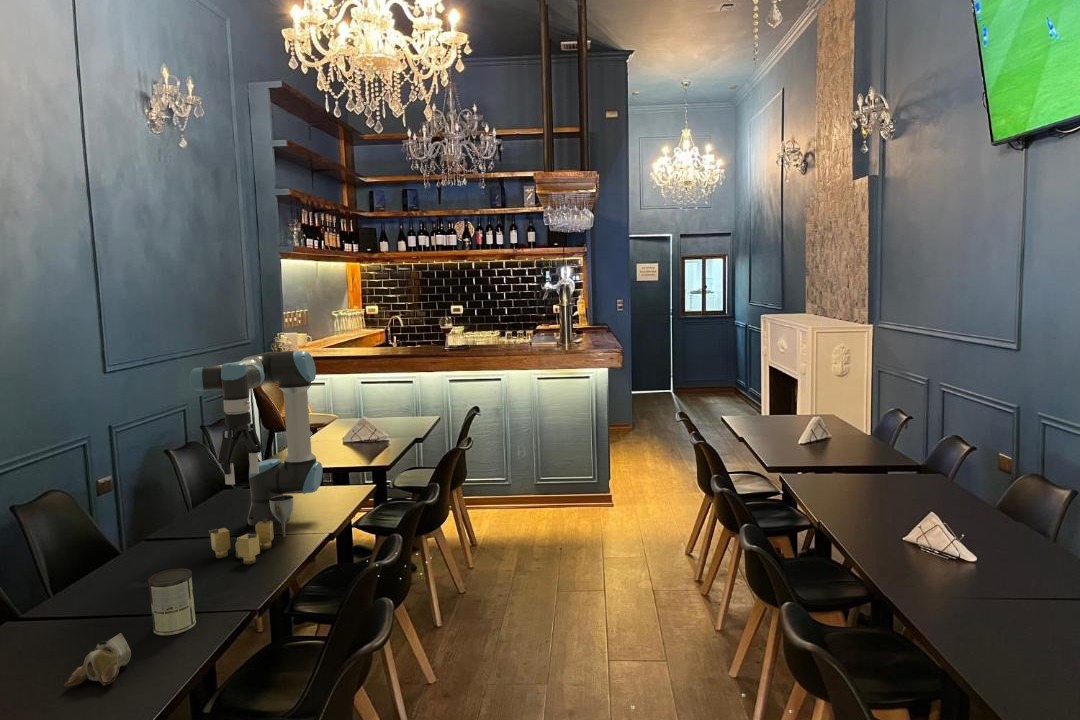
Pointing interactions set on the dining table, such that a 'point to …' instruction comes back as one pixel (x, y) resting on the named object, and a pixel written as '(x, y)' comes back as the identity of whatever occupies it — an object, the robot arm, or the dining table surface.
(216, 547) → the knob
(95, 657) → the ceramic sculpture
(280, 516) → the grey funnel
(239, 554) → the knob
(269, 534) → the knob
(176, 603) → the coffee can
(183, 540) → the dining table surface
